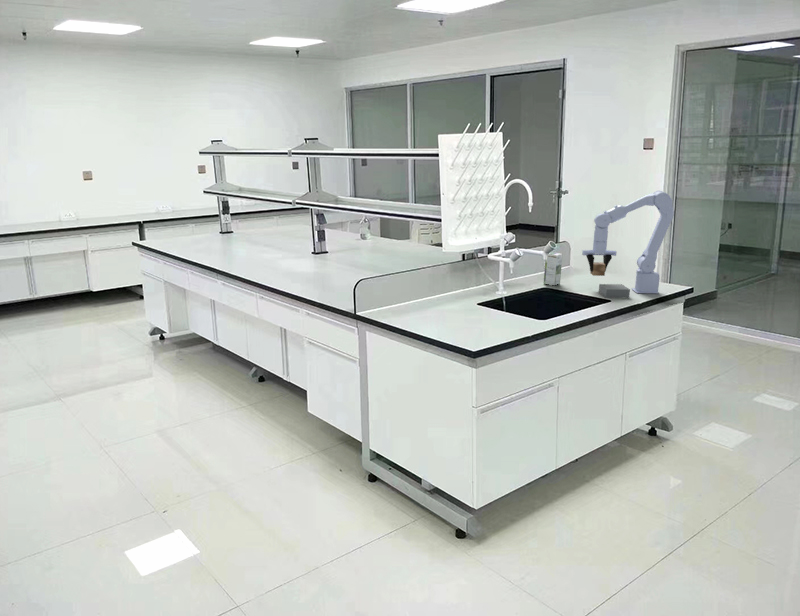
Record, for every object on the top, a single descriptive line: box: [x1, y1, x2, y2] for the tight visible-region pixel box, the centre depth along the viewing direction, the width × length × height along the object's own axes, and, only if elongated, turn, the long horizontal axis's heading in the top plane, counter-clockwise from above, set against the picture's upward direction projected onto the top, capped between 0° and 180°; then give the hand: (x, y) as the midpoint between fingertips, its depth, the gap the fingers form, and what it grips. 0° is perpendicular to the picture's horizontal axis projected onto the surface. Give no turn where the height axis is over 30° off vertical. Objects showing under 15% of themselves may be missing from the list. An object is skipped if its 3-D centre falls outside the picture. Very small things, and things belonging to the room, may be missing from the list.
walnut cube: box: [590, 261, 606, 277], centre depth 287 cm, size 5×5×5 cm
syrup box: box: [543, 252, 563, 286], centre depth 297 cm, size 6×6×14 cm
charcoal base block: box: [598, 283, 631, 299], centre depth 279 cm, size 10×10×4 cm
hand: (597, 271), depth 287 cm, fingers closed on walnut cube, 5 cm apart
